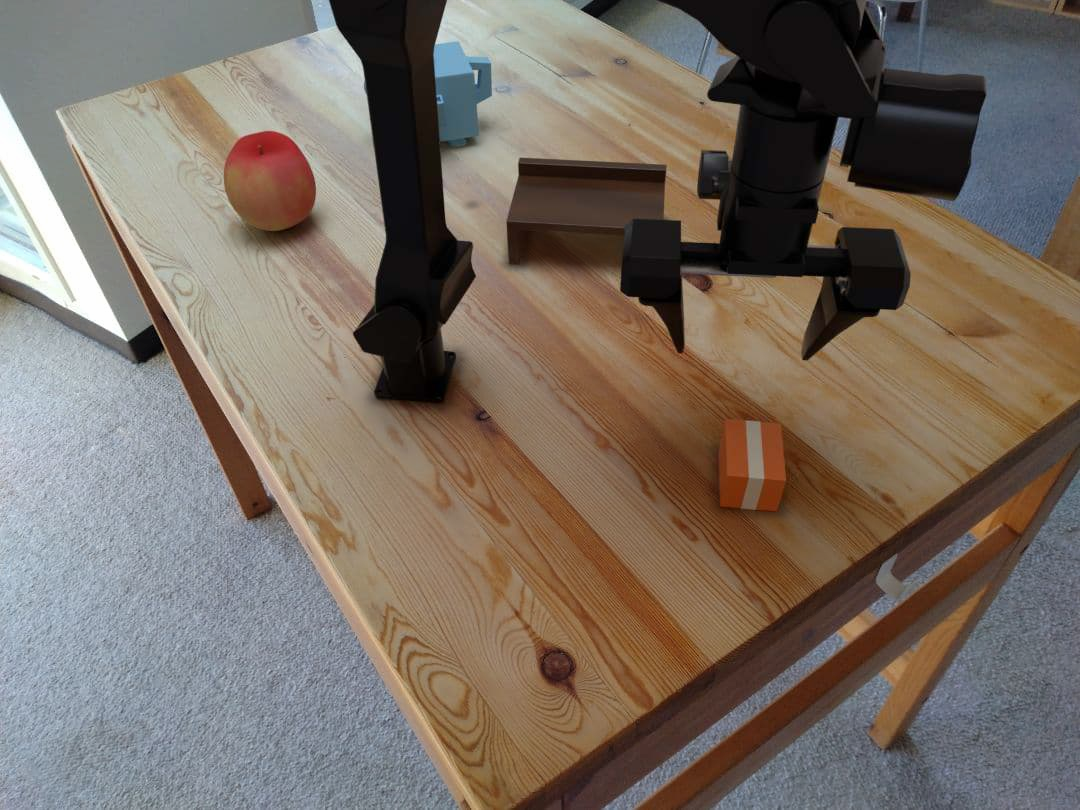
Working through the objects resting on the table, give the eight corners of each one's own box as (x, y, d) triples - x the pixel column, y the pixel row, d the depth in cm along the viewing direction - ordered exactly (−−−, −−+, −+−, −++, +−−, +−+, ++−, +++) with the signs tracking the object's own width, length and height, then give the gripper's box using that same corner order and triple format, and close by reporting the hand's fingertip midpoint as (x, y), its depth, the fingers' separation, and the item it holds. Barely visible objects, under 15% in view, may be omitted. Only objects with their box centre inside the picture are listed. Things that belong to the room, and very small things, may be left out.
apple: (239, 207, 99) (213, 128, 92) (320, 194, 101) (302, 116, 94) (239, 254, 93) (212, 174, 86) (327, 240, 94) (307, 160, 87)
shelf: (658, 273, 89) (664, 217, 84) (508, 264, 91) (505, 208, 86) (661, 219, 96) (666, 164, 91) (521, 211, 98) (519, 157, 93)
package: (776, 512, 68) (786, 480, 65) (719, 507, 68) (727, 475, 65) (772, 454, 72) (781, 422, 69) (718, 450, 72) (725, 418, 69)
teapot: (383, 177, 103) (367, 88, 95) (364, 109, 115) (349, 25, 107) (508, 157, 106) (504, 69, 98) (477, 92, 118) (471, 9, 110)
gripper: (909, 110, 57) (853, 292, 69) (632, 103, 59) (622, 281, 70) (944, 201, 50) (875, 389, 61) (624, 190, 52) (615, 374, 63)
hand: (741, 353), depth 64 cm, fingers open, 9 cm apart
